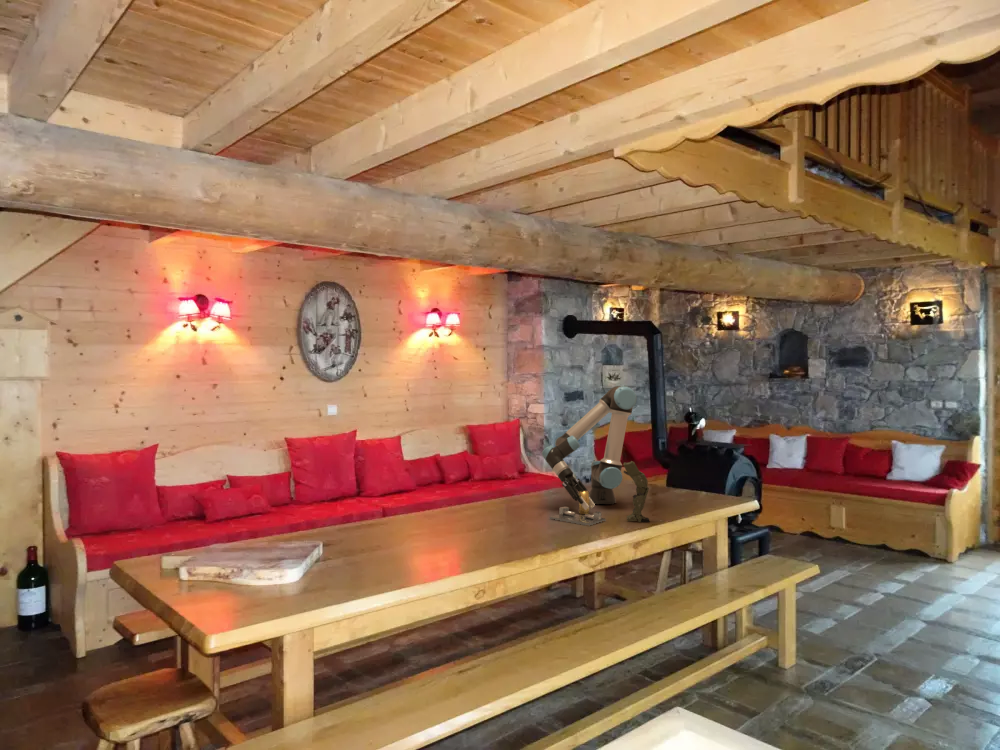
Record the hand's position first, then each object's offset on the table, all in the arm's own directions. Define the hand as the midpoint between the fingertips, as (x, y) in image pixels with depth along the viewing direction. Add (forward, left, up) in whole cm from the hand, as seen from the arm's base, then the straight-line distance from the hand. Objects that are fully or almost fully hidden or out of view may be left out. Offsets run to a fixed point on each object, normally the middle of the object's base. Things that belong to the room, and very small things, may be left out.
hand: (590, 507), depth 357 cm
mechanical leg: (-6, +24, -4) cm, 25 cm away
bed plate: (+15, +5, -4) cm, 16 cm away
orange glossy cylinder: (+1, -4, -3) cm, 5 cm away
